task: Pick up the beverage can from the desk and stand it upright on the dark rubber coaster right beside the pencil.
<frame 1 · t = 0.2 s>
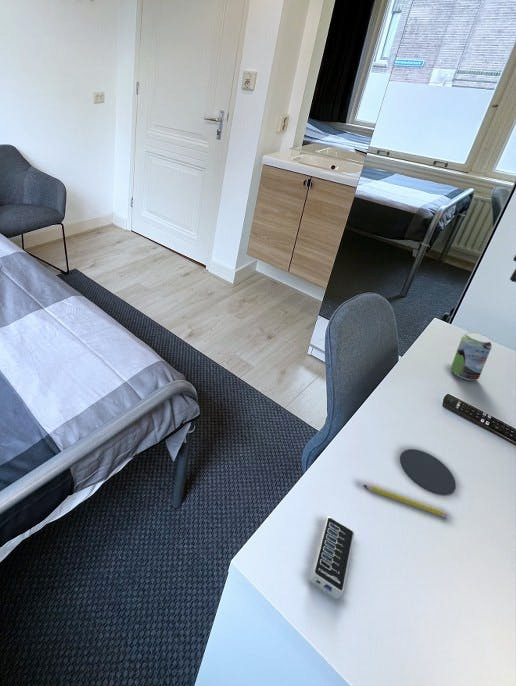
beverage can: (460, 373, 112), on the table
pencil: (401, 501, 79), on the table
multiport hub: (329, 559, 69), on the table
coaster: (426, 471, 85), on the table
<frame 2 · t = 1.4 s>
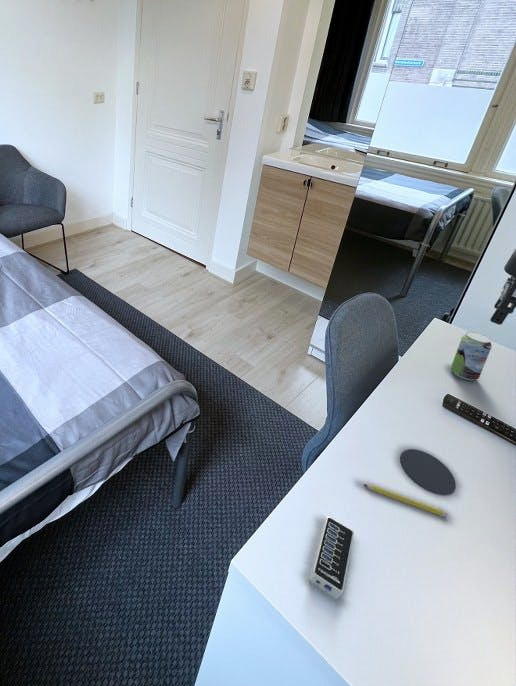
hand: (497, 315, 103), 19 cm above the table, tool pointing down, fingers open, 8 cm apart
nothing on the table moved.
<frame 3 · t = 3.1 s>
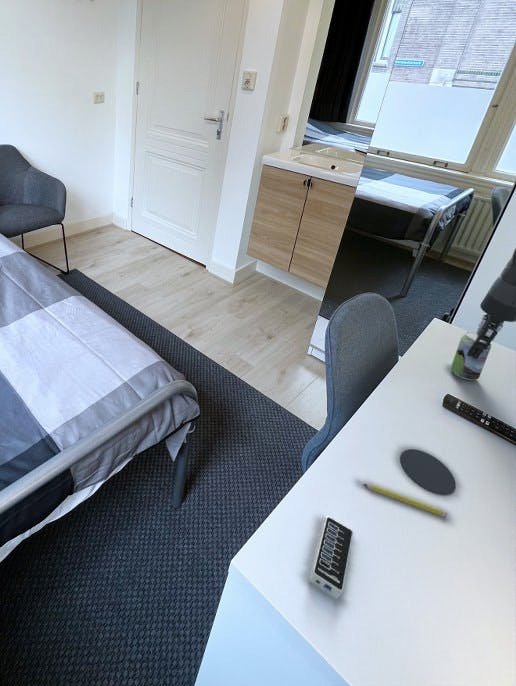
hand: (473, 350, 108), 8 cm above the table, tool pointing down, fingers closed on beverage can, 6 cm apart
beverage can: (460, 373, 112), on the table, touching gripper
everything else where it was.
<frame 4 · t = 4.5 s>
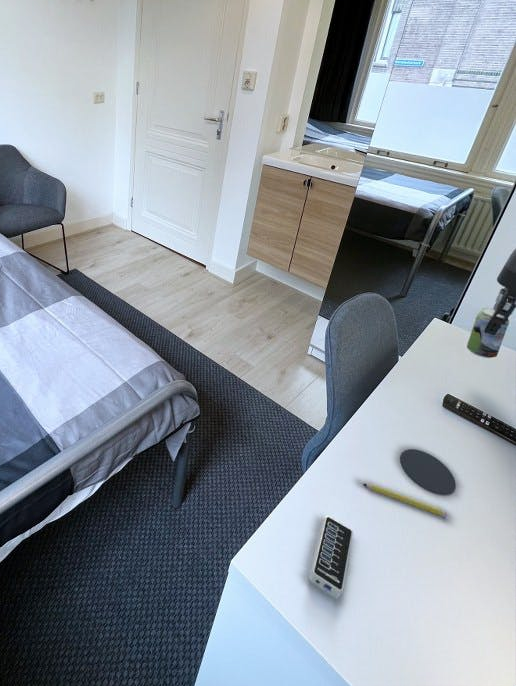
hand: (490, 327, 104), 16 cm above the table, tool pointing down, fingers closed on beverage can, 6 cm apart
beverage can: (476, 352, 108), point 8 cm above the table, touching gripper
everything else where it was.
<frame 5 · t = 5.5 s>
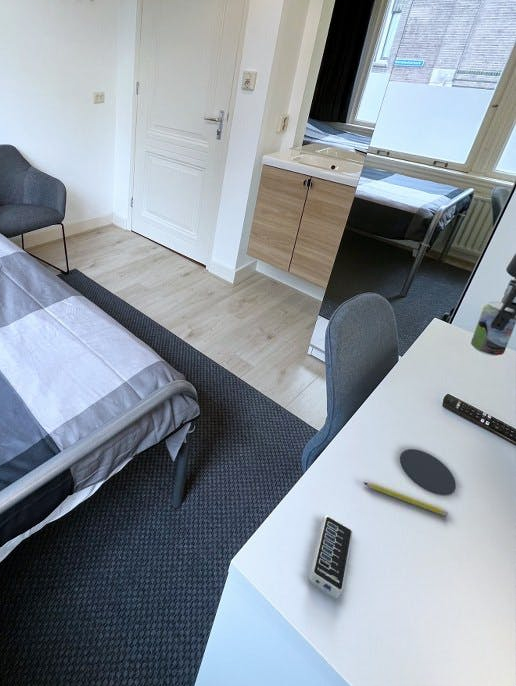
hand: (498, 322, 95), 22 cm above the table, tool pointing down, fingers closed on beverage can, 6 cm apart
beverage can: (481, 349, 99), point 14 cm above the table, touching gripper
everything else where it was.
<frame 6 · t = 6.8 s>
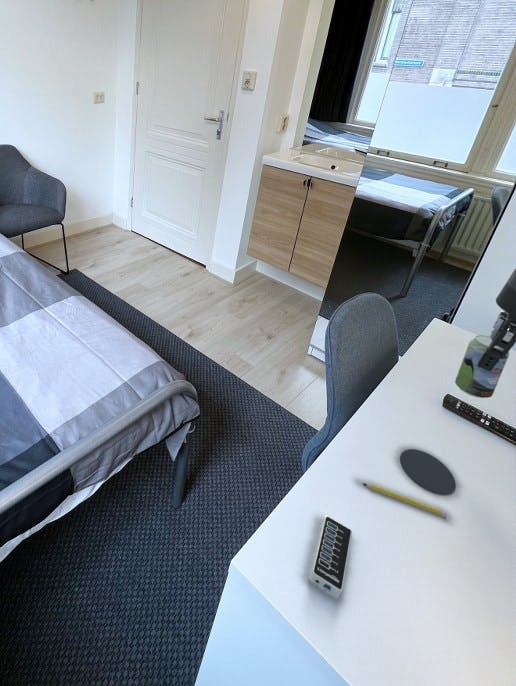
hand: (486, 359, 83), 22 cm above the table, tool pointing down, fingers closed on beverage can, 6 cm apart
beverage can: (467, 389, 86), point 14 cm above the table, touching gripper
everything else where it was.
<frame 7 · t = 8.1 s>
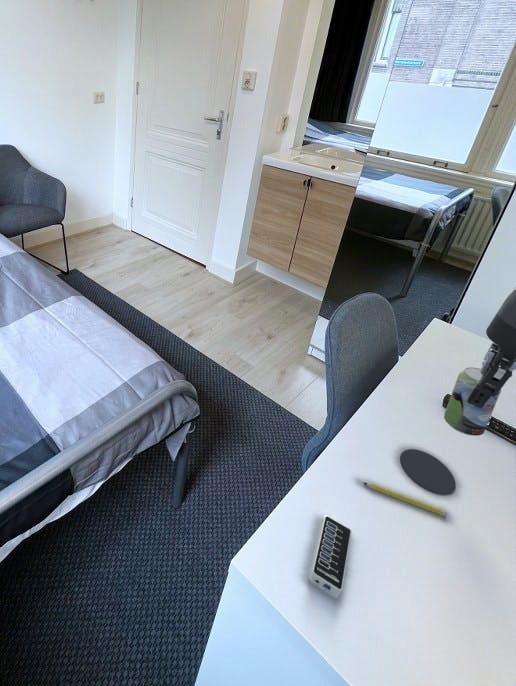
hand: (476, 394, 76), 20 cm above the table, tool pointing down, fingers closed on beverage can, 6 cm apart
beverage can: (457, 424, 80), point 13 cm above the table, touching gripper
everything else where it was.
when the fingers open (8 cm above the table, at t = 11.4 s): beverage can stays where it is, resting on coaster.
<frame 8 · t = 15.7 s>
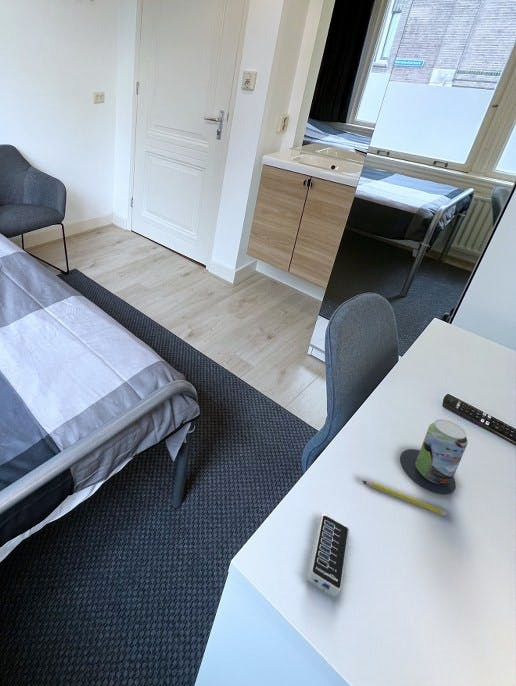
beverage can: (427, 472, 85), resting on coaster
everything else where it was.
at the end: beverage can 0.2 cm off-centre on the coaster, point 0.1 cm above the coaster's base; beverage can 10.2 cm from the pencil (horizontally); beverage can tilted 0° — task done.
